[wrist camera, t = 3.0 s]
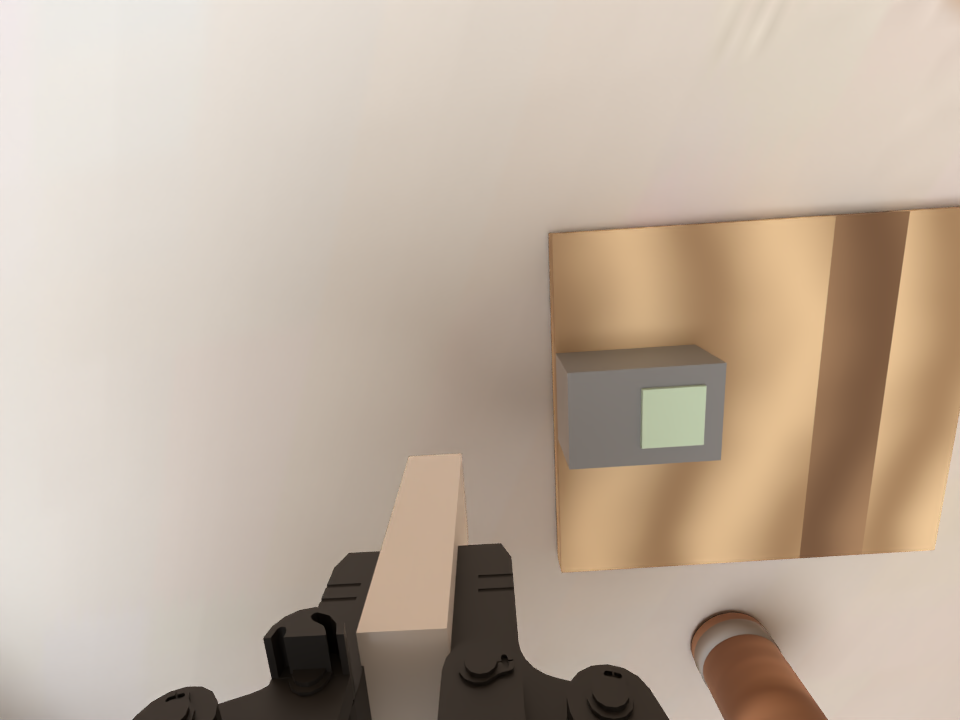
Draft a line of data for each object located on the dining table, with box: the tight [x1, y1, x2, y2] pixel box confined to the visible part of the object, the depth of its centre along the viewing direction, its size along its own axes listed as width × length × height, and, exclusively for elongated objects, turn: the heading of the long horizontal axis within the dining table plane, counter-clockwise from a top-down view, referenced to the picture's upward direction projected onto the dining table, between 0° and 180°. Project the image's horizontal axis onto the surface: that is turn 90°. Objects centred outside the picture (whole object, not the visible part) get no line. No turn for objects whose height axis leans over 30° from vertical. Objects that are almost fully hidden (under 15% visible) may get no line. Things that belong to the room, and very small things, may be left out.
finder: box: [556, 344, 727, 470], centre depth 22 cm, size 6×4×3 cm, turn 94°
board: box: [549, 207, 960, 573], centre depth 24 cm, size 18×16×1 cm
